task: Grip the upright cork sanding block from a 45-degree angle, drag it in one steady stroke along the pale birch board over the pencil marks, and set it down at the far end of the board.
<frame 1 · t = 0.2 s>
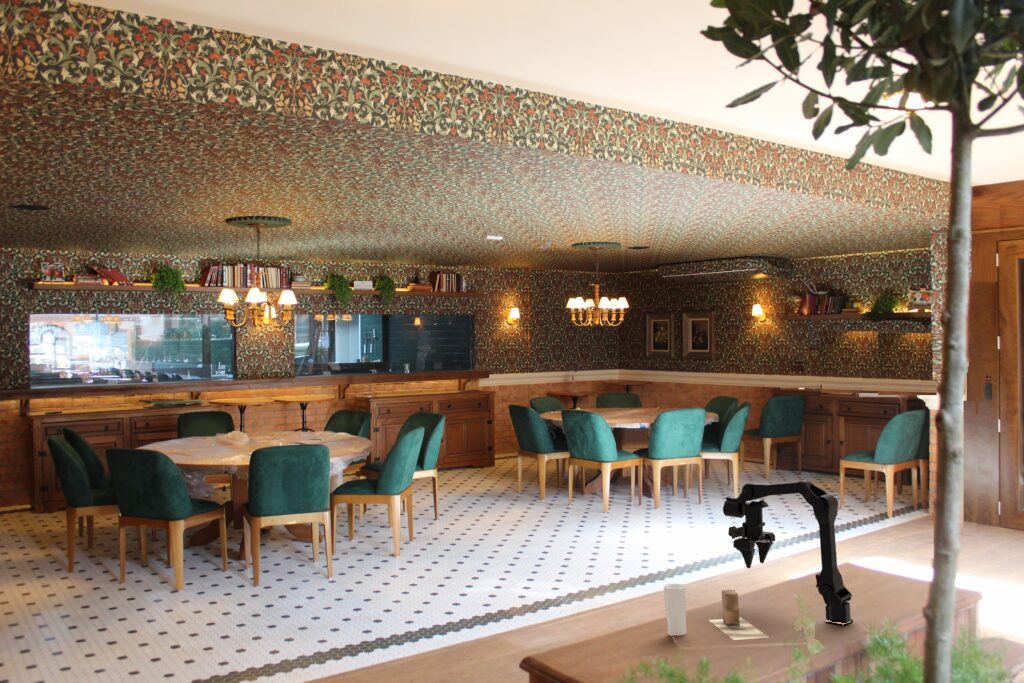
hand: (755, 565, 289), 14 cm above the table, tool pointing down, fingers open, 9 cm apart
board: (737, 630, 265), on the table
sanding block: (731, 623, 270), point 1 cm above the table, touching board
drinking glass: (677, 635, 263), on the table
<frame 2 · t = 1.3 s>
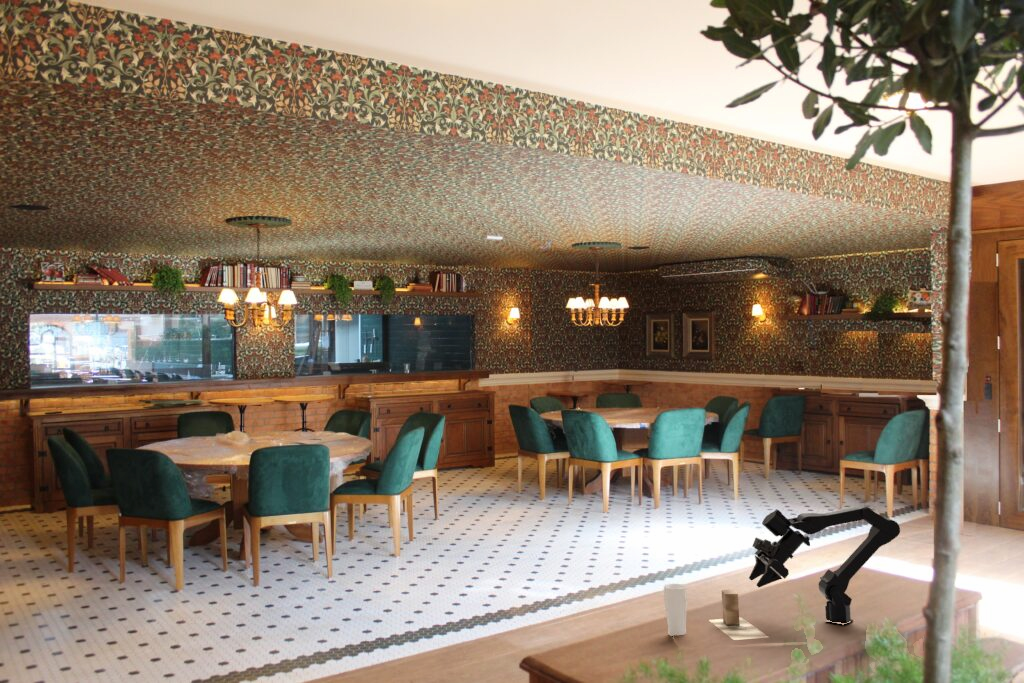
hand: (753, 582, 270), 13 cm above the table, tool tilted 45°, fingers open, 9 cm apart
nothing on the table moved.
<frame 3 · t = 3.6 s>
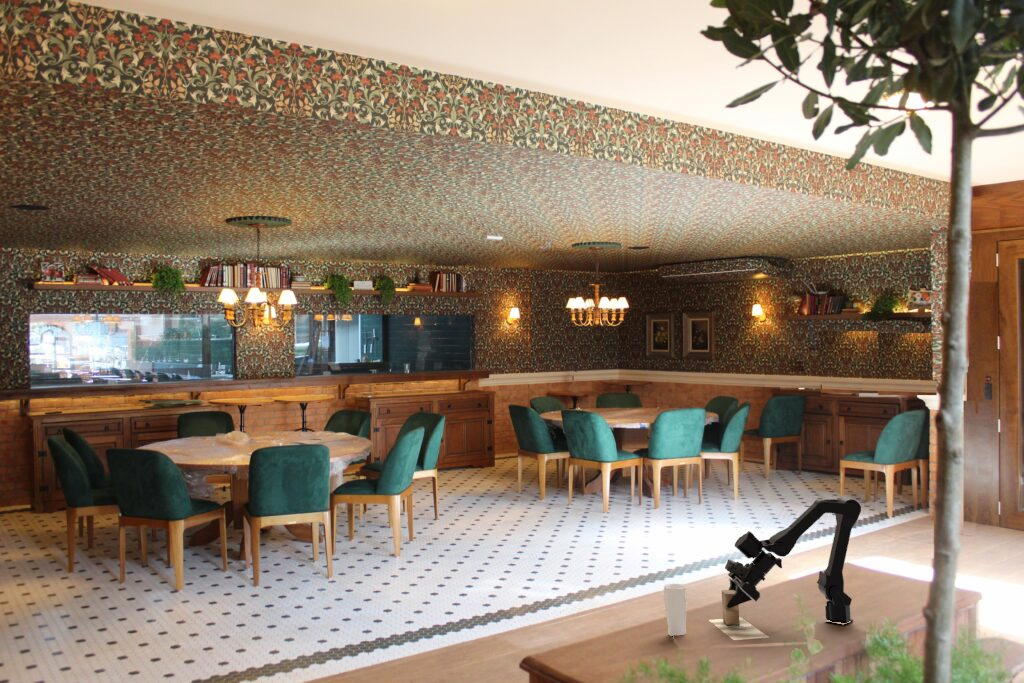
hand: (725, 604, 270), 7 cm above the table, tool tilted 45°, fingers closed on sanding block, 5 cm apart
sanding block: (731, 623, 270), point 1 cm above the table, touching board, gripper
everything else where it was.
when the fingers open (7 cm above the table, at t = 7.1 s): sanding block stays where it is, resting on board.
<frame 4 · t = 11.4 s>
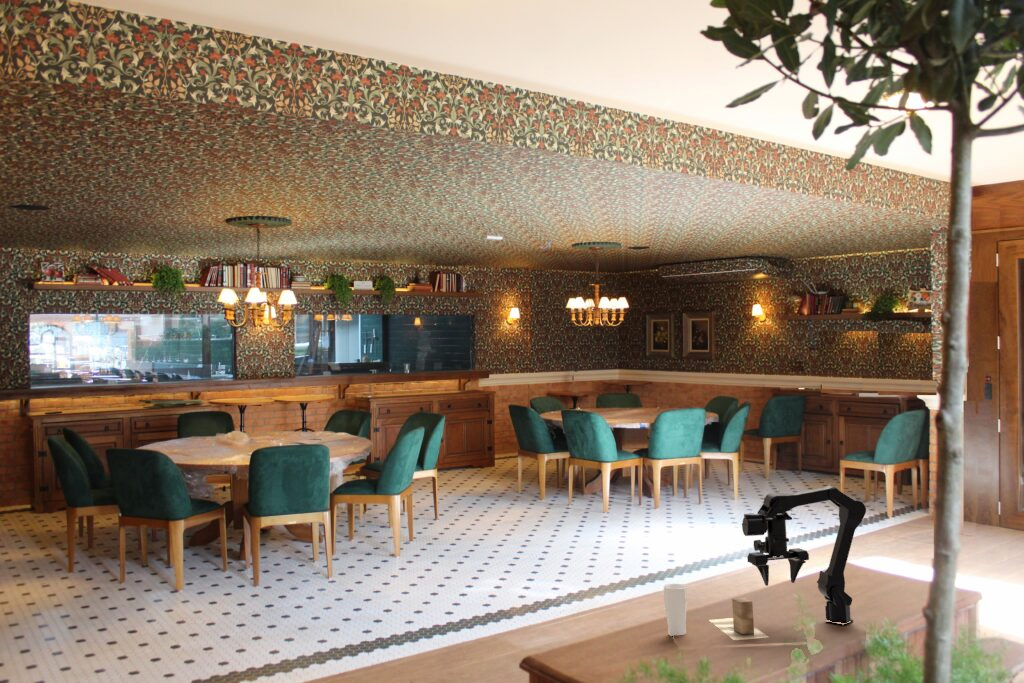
hand: (779, 584, 268), 13 cm above the table, tool pointing down, fingers open, 9 cm apart
sanding block: (743, 632, 260), point 1 cm above the table, touching board
everything else where it was.
at the end: sanding block inside the target area (0.4 cm from its centre), point 0.8 cm above the table; sanding block tilted 0°; sanding block moved 10.0 cm from its start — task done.
